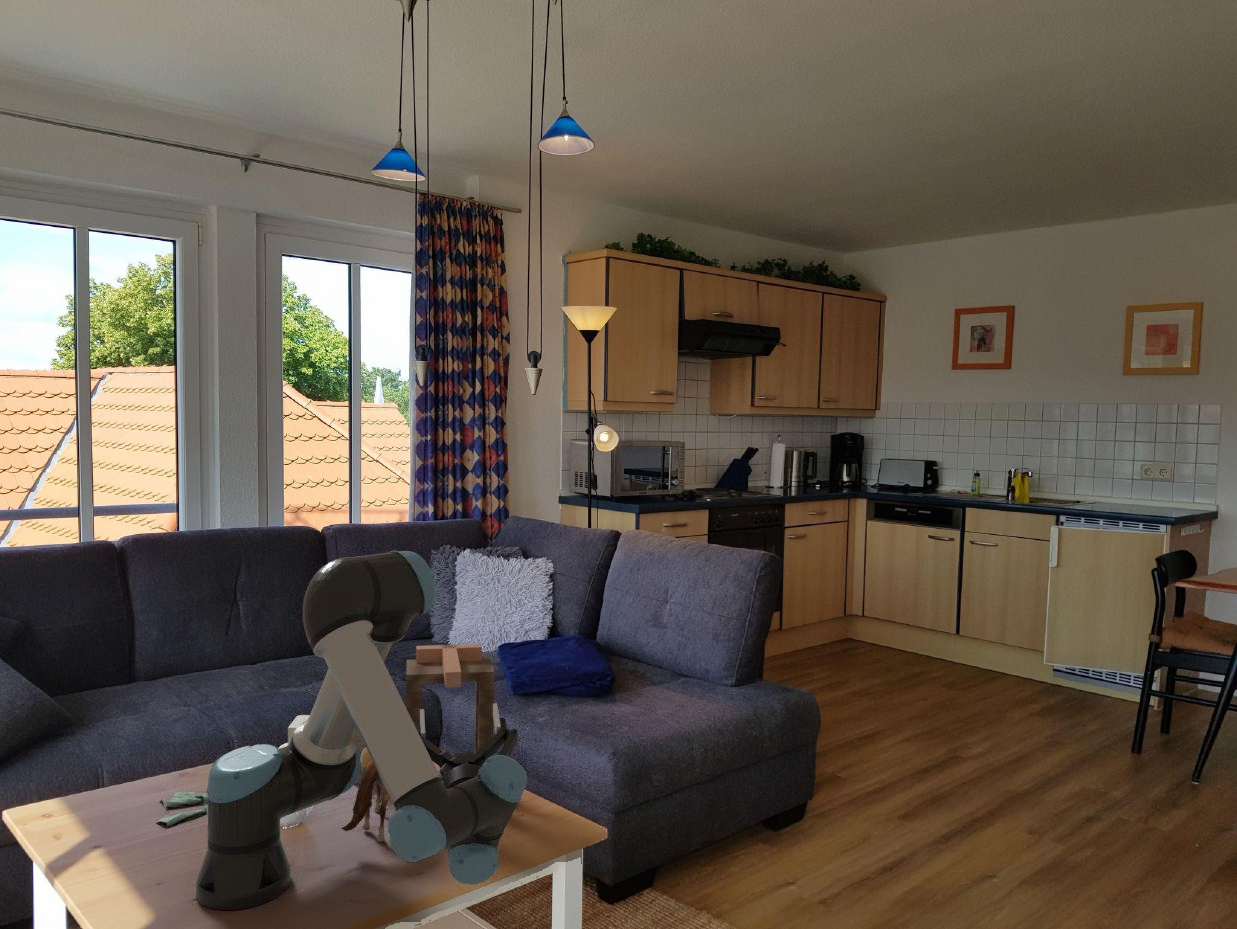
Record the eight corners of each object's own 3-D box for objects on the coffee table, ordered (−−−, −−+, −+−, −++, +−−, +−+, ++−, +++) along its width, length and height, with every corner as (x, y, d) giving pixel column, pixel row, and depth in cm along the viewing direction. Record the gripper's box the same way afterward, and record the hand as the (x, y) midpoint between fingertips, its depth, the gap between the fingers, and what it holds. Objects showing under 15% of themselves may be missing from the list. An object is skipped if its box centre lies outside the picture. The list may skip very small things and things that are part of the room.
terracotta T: (416, 688, 173) (416, 673, 172) (416, 659, 194) (416, 645, 194) (489, 685, 176) (489, 670, 176) (480, 657, 197) (480, 643, 197)
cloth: (246, 824, 180) (247, 812, 180) (124, 843, 171) (124, 830, 171) (242, 786, 199) (242, 776, 199) (131, 802, 189) (131, 790, 189)
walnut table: (404, 818, 183) (406, 674, 182) (404, 794, 195) (406, 659, 194) (491, 811, 187) (494, 671, 186) (487, 789, 199) (489, 656, 198)
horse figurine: (376, 790, 197) (377, 699, 196) (411, 790, 197) (412, 699, 196) (339, 859, 166) (341, 750, 165) (381, 858, 166) (383, 750, 165)
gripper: (390, 821, 148) (391, 733, 166) (539, 805, 154) (523, 721, 172) (390, 787, 145) (390, 701, 163) (541, 772, 151) (525, 691, 169)
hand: (458, 711), depth 168 cm, fingers open, 13 cm apart
